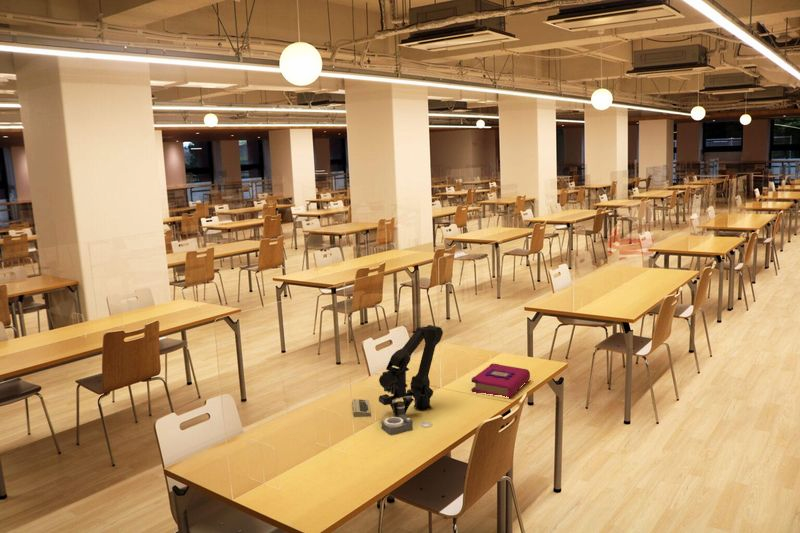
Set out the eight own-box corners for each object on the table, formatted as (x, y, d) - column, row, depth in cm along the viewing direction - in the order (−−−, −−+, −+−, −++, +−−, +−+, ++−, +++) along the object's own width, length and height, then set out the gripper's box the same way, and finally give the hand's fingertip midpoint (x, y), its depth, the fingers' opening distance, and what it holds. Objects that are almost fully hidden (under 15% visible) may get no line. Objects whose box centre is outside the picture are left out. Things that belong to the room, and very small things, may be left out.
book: (529, 382, 353) (530, 368, 352) (510, 400, 330) (510, 385, 328) (491, 375, 364) (492, 362, 362) (470, 392, 340) (470, 378, 339)
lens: (401, 415, 312) (401, 400, 311) (406, 418, 308) (406, 403, 307) (393, 417, 310) (392, 402, 309) (397, 420, 306) (397, 405, 305)
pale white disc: (428, 422, 304) (428, 421, 304) (434, 426, 300) (434, 425, 300) (418, 425, 302) (418, 423, 302) (424, 429, 298) (424, 427, 297)
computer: (371, 417, 311) (371, 410, 311) (353, 418, 310) (353, 411, 310) (369, 404, 327) (368, 397, 326) (352, 405, 326) (351, 398, 325)
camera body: (403, 423, 303) (403, 412, 302) (412, 429, 296) (412, 419, 295) (381, 428, 298) (381, 417, 297) (390, 435, 291) (390, 424, 290)
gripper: (408, 372, 317) (408, 404, 320) (372, 380, 308) (373, 412, 311) (420, 380, 308) (421, 412, 311) (384, 387, 299) (384, 421, 302)
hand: (399, 414), depth 309 cm, fingers closed on lens, 4 cm apart
